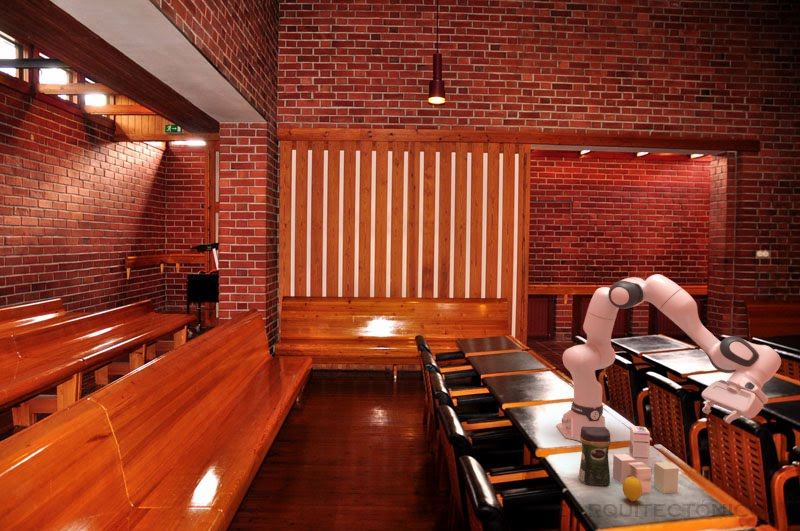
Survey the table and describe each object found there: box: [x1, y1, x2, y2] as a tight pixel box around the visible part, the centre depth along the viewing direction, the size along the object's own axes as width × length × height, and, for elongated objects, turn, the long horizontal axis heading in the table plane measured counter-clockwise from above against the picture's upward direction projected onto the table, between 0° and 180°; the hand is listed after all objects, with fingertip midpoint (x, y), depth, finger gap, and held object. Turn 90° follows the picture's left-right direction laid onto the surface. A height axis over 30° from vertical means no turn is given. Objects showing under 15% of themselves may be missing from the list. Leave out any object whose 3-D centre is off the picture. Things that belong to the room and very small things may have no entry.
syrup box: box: [628, 425, 651, 467], centre depth 191 cm, size 6×6×14 cm
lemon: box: [622, 476, 643, 502], centre depth 167 cm, size 6×6×8 cm
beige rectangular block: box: [653, 461, 679, 494], centre depth 175 cm, size 5×5×8 cm
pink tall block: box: [628, 462, 652, 494], centre depth 175 cm, size 5×5×8 cm
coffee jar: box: [578, 426, 611, 486], centre depth 180 cm, size 10×8×19 cm
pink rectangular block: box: [612, 453, 636, 485], centre depth 182 cm, size 5×5×8 cm
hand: (715, 416), depth 177 cm, fingers open, 8 cm apart
